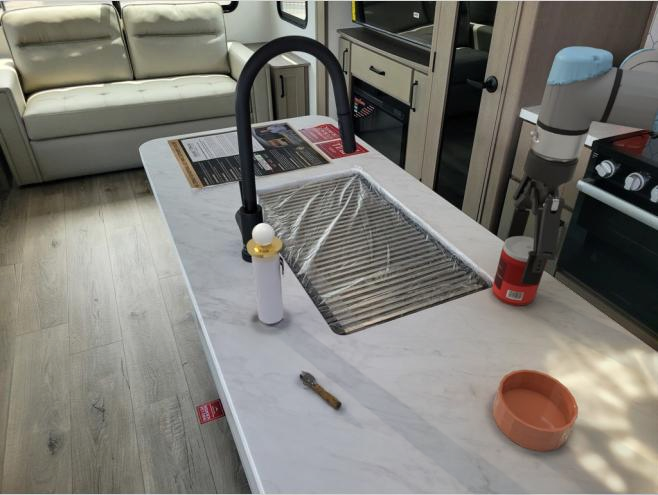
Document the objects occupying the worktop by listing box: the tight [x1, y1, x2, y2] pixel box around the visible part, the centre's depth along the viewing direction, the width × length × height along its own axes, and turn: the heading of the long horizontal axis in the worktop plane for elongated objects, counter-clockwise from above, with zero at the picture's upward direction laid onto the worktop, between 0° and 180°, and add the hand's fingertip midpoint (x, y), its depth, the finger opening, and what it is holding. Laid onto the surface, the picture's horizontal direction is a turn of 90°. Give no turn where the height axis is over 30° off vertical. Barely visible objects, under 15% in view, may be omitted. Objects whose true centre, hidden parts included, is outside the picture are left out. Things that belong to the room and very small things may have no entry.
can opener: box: [299, 370, 342, 409], centre depth 72 cm, size 9×2×1 cm, turn 39°
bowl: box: [492, 369, 579, 452], centre depth 68 cm, size 10×10×4 cm
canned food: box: [492, 235, 548, 307], centre depth 89 cm, size 8×8×11 cm
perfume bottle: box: [246, 222, 285, 325], centre depth 81 cm, size 6×6×20 cm
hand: (521, 260), depth 88 cm, fingers open, 13 cm apart
